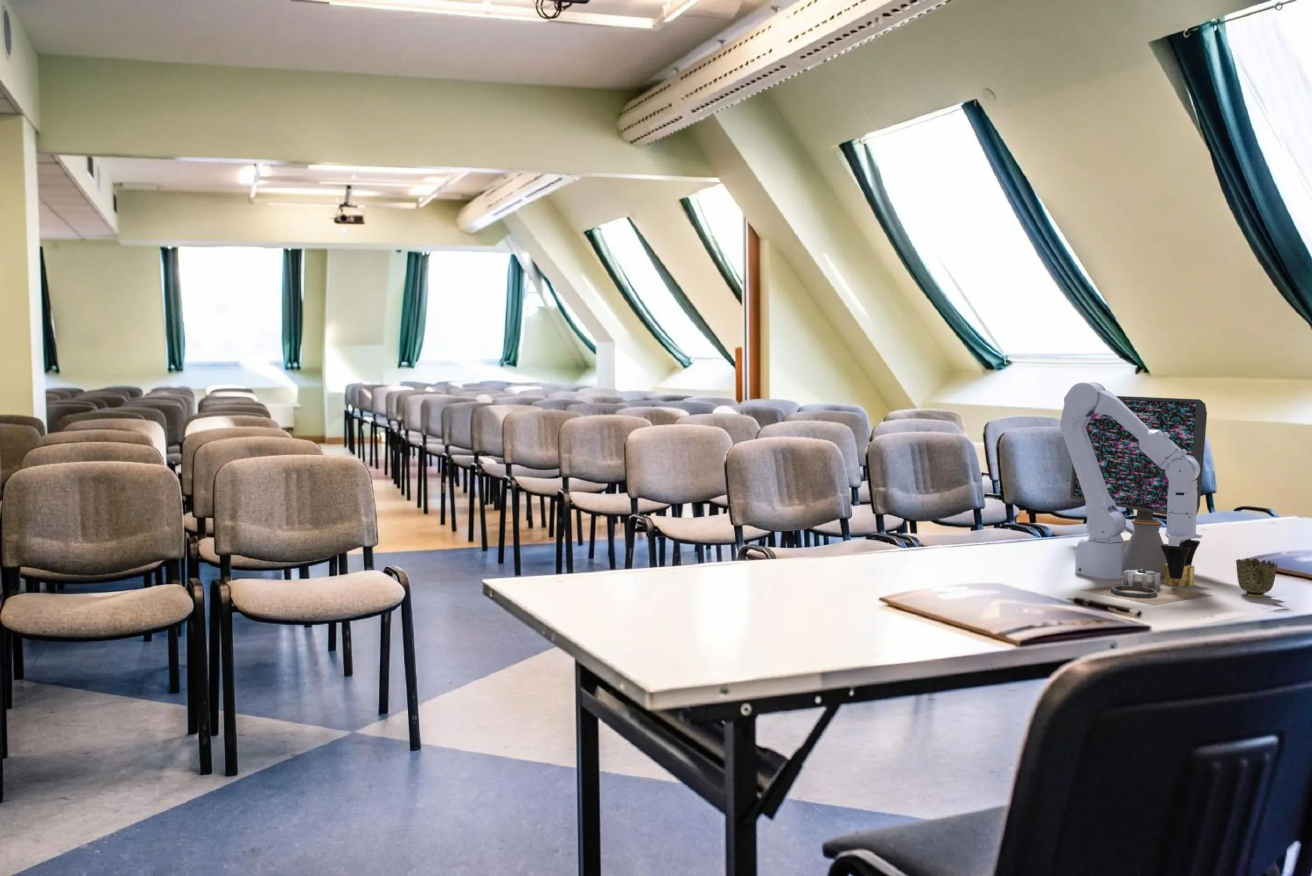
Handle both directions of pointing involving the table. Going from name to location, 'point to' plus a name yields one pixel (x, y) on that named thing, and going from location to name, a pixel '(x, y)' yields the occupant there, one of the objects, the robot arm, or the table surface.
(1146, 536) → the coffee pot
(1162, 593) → the carrier plate
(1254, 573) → the cup
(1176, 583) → the planet gear
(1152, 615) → the table surface
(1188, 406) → the computer monitor
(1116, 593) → the ring
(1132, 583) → the sun gear
